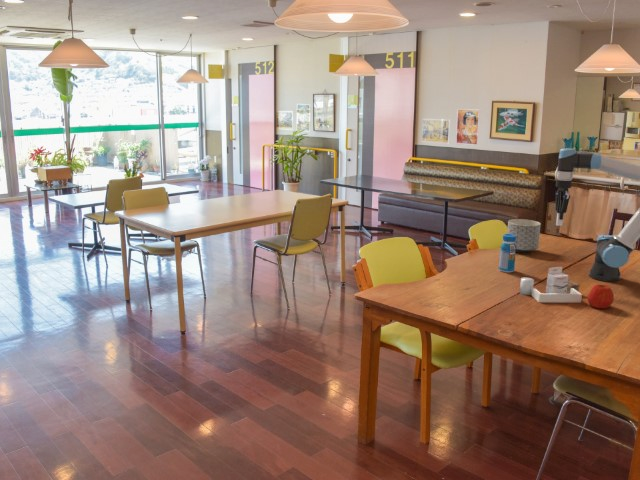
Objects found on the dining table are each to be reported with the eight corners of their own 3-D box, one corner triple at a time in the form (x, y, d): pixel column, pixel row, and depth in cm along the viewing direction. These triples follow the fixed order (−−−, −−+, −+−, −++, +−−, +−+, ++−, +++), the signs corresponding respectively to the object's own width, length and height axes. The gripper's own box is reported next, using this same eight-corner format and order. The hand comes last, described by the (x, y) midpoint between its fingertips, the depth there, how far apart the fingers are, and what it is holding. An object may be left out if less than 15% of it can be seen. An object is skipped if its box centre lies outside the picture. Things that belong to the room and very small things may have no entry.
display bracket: (572, 296, 293) (573, 288, 292) (580, 302, 284) (581, 294, 283) (531, 295, 293) (532, 287, 292) (538, 302, 284) (539, 294, 283)
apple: (610, 312, 272) (613, 289, 270) (584, 307, 278) (587, 285, 275) (613, 305, 281) (616, 283, 279) (588, 301, 287) (591, 279, 284)
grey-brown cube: (571, 291, 301) (572, 281, 300) (578, 294, 296) (579, 284, 295) (562, 292, 299) (563, 282, 298) (569, 295, 295) (570, 285, 293)
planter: (500, 247, 385) (503, 219, 380) (529, 247, 387) (532, 219, 382) (513, 255, 366) (516, 225, 362) (543, 254, 368) (546, 225, 364)
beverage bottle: (497, 271, 332) (500, 236, 327) (499, 267, 339) (502, 232, 334) (513, 273, 329) (517, 237, 324) (515, 269, 336) (518, 234, 331)
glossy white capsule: (529, 291, 300) (531, 277, 298) (534, 295, 294) (535, 281, 292) (517, 290, 300) (519, 277, 298) (522, 294, 294) (523, 281, 292)
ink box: (552, 300, 286) (555, 270, 283) (544, 297, 291) (548, 267, 287) (566, 298, 290) (569, 269, 286) (558, 295, 294) (562, 266, 291)
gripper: (551, 177, 312) (546, 222, 317) (562, 181, 299) (557, 228, 305) (566, 177, 312) (561, 222, 318) (577, 181, 299) (571, 228, 305)
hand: (559, 225), depth 311 cm, fingers closed
